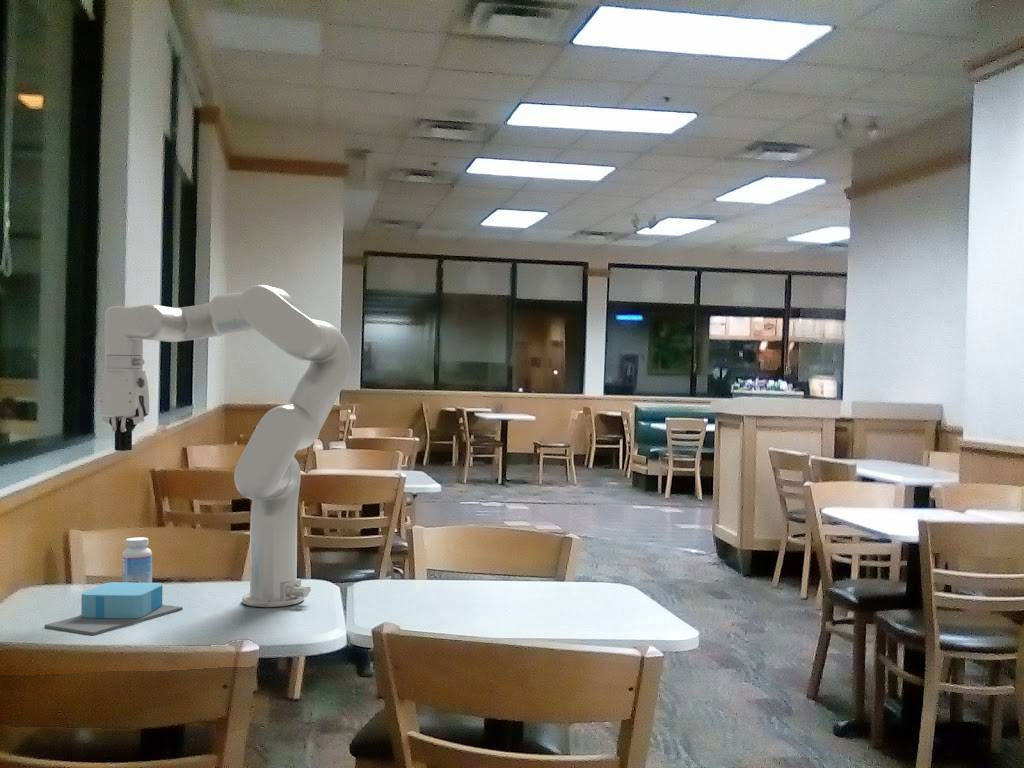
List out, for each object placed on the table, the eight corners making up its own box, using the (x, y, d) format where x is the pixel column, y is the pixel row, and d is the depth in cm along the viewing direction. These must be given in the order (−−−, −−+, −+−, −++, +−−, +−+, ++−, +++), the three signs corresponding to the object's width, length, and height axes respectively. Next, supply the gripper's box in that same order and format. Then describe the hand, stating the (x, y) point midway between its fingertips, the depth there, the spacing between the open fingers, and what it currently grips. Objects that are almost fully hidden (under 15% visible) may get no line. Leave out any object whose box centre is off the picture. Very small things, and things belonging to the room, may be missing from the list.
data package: (78, 618, 185) (139, 619, 184) (78, 594, 185) (140, 595, 184) (106, 604, 197) (165, 604, 196) (107, 581, 197) (165, 582, 196)
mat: (182, 609, 194) (182, 607, 194) (93, 635, 174) (93, 632, 174) (136, 603, 199) (136, 601, 199) (44, 627, 179) (44, 624, 179)
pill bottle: (157, 588, 214) (158, 537, 214) (138, 593, 209) (138, 541, 209) (136, 586, 217) (136, 535, 217) (116, 591, 211) (116, 539, 211)
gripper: (163, 364, 207) (162, 450, 207) (111, 364, 213) (111, 448, 213) (136, 363, 200) (135, 452, 200) (84, 364, 206) (83, 450, 206)
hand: (123, 450), depth 206 cm, fingers closed
